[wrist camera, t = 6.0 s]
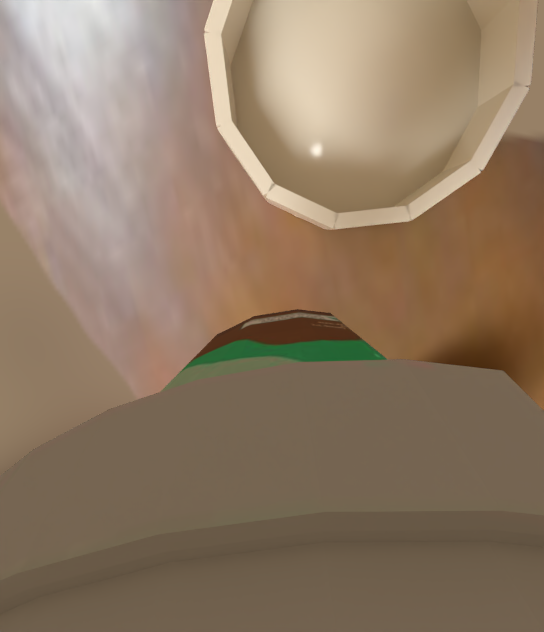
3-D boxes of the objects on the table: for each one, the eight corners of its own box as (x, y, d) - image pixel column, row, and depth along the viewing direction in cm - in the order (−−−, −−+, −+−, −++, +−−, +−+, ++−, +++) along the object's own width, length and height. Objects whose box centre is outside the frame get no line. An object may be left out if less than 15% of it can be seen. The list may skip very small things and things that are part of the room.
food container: (160, 233, 10) (-1298, 244, 1) (341, 270, 11) (962, 651, 1) (129, 524, 14) (-241, 1243, 4) (270, 548, 14) (247, 1298, 4)
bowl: (496, -99, 20) (554, -189, 16) (479, 213, 25) (520, 209, 20) (203, -52, 21) (183, -124, 17) (239, 239, 26) (231, 240, 22)
